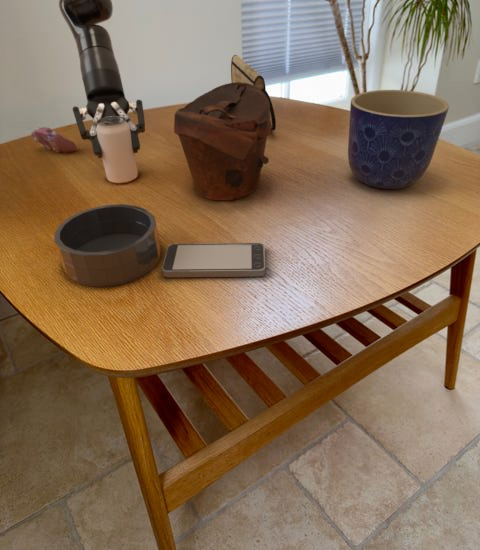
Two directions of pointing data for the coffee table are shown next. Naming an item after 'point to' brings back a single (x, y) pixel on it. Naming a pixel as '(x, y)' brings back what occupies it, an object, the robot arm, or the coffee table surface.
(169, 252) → the smartphone
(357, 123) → the planter
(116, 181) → the can
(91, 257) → the bowl
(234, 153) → the case
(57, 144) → the raw meat chunk
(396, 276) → the coffee table surface
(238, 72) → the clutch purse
